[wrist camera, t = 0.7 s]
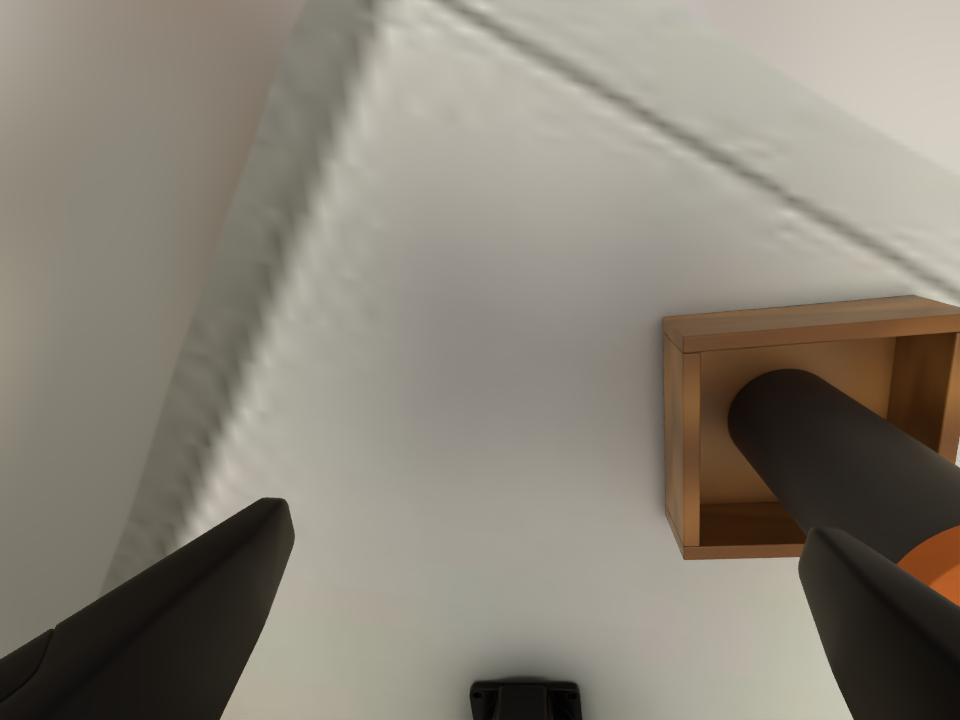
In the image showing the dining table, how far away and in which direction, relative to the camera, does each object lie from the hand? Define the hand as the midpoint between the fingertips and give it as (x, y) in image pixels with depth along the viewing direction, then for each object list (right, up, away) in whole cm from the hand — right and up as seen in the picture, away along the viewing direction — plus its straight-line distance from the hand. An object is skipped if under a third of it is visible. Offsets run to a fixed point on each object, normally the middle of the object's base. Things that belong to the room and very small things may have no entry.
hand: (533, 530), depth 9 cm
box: (+13, 0, +15) cm, 20 cm away
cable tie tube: (+13, 0, +15) cm, 20 cm away
